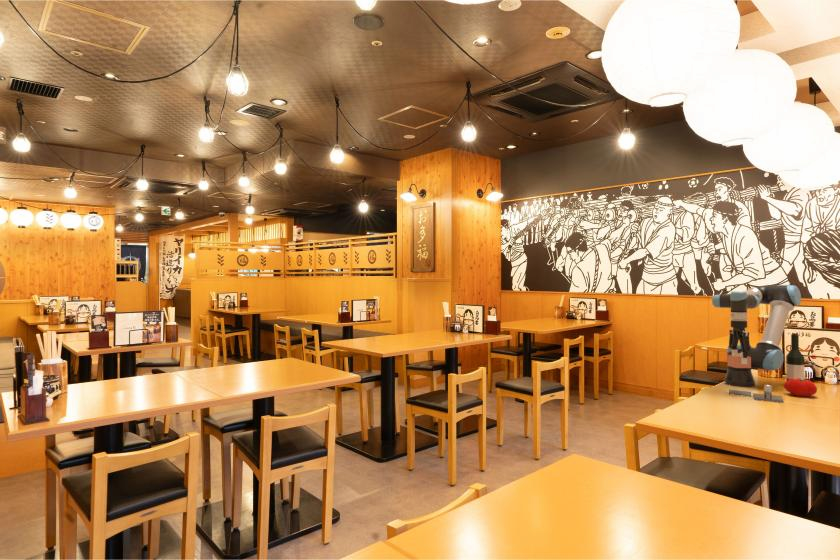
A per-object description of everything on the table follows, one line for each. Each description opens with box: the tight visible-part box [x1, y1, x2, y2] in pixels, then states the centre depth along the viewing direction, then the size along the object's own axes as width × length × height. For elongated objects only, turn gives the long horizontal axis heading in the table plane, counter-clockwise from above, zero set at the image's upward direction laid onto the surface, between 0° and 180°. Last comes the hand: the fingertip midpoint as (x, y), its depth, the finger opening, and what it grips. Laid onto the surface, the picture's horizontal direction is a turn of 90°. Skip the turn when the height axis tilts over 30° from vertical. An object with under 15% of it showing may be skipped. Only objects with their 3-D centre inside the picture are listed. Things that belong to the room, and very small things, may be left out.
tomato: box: [783, 379, 818, 397], centre depth 258 cm, size 14×13×9 cm
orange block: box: [727, 353, 752, 369], centre depth 264 cm, size 8×8×7 cm
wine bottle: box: [785, 332, 806, 381], centre depth 282 cm, size 8×8×30 cm
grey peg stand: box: [752, 384, 785, 404], centre depth 251 cm, size 12×12×7 cm
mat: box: [728, 389, 752, 397], centre depth 264 cm, size 10×10×1 cm
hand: (739, 362), depth 264 cm, fingers closed on orange block, 8 cm apart
